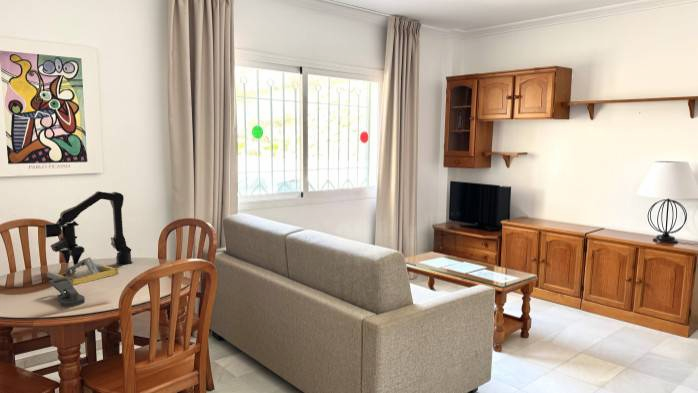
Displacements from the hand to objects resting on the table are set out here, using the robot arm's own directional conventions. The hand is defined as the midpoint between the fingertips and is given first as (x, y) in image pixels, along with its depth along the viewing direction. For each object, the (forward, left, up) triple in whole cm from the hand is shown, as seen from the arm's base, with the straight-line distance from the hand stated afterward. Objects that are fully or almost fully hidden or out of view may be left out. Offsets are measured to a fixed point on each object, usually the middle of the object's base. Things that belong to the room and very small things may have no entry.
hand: (71, 264), depth 253 cm
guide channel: (0, +12, -4) cm, 12 cm away
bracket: (+2, +10, -4) cm, 11 cm away
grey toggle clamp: (+22, +43, -4) cm, 49 cm away
